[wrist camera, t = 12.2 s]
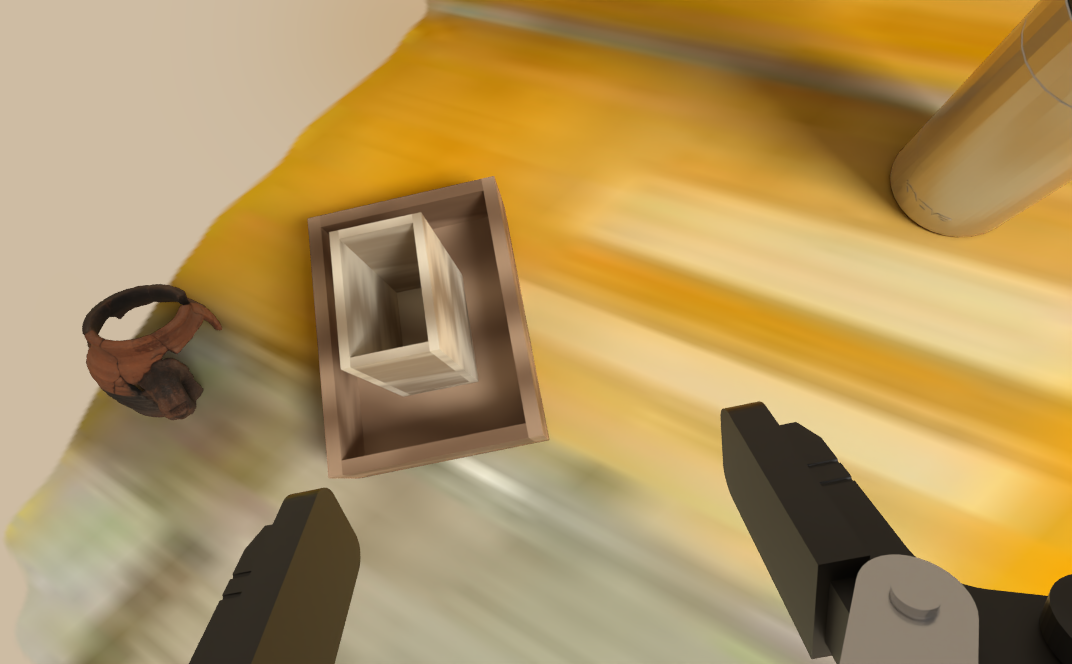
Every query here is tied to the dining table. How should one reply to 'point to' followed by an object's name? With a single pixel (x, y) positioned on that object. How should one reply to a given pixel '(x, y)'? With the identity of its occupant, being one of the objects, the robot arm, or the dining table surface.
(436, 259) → the birch crate
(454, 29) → the dining table surface
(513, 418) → the walnut crate
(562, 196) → the dining table surface
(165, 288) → the pottery mug
